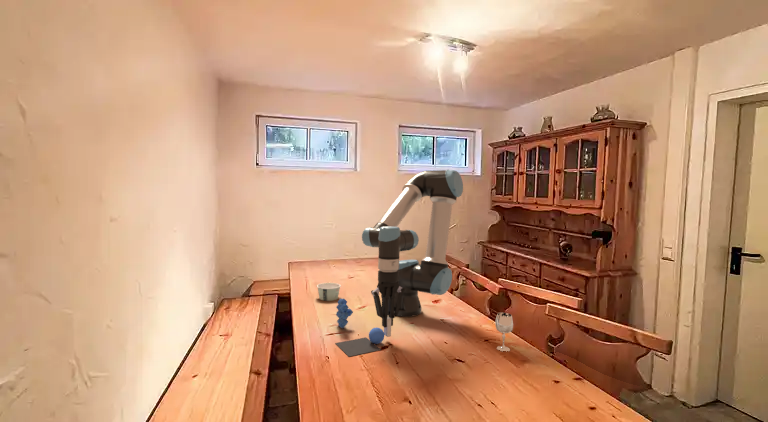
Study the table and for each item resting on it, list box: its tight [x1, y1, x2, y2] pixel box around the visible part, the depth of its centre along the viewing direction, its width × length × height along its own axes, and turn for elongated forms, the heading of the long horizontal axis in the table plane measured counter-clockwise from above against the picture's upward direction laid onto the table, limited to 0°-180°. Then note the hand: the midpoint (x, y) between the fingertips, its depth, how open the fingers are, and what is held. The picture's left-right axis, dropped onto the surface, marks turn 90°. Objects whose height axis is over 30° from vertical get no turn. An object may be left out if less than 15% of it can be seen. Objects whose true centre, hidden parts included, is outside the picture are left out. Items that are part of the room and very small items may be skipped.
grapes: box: [335, 298, 354, 329], centre depth 147 cm, size 12×7×12 cm, turn 18°
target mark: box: [334, 337, 382, 358], centre depth 129 cm, size 12×12×1 cm
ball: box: [368, 327, 385, 345], centre depth 132 cm, size 6×6×6 cm
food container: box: [316, 282, 342, 302], centre depth 188 cm, size 12×12×6 cm
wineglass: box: [495, 312, 514, 353], centre depth 129 cm, size 6×6×12 cm
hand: (387, 335), depth 134 cm, fingers closed
